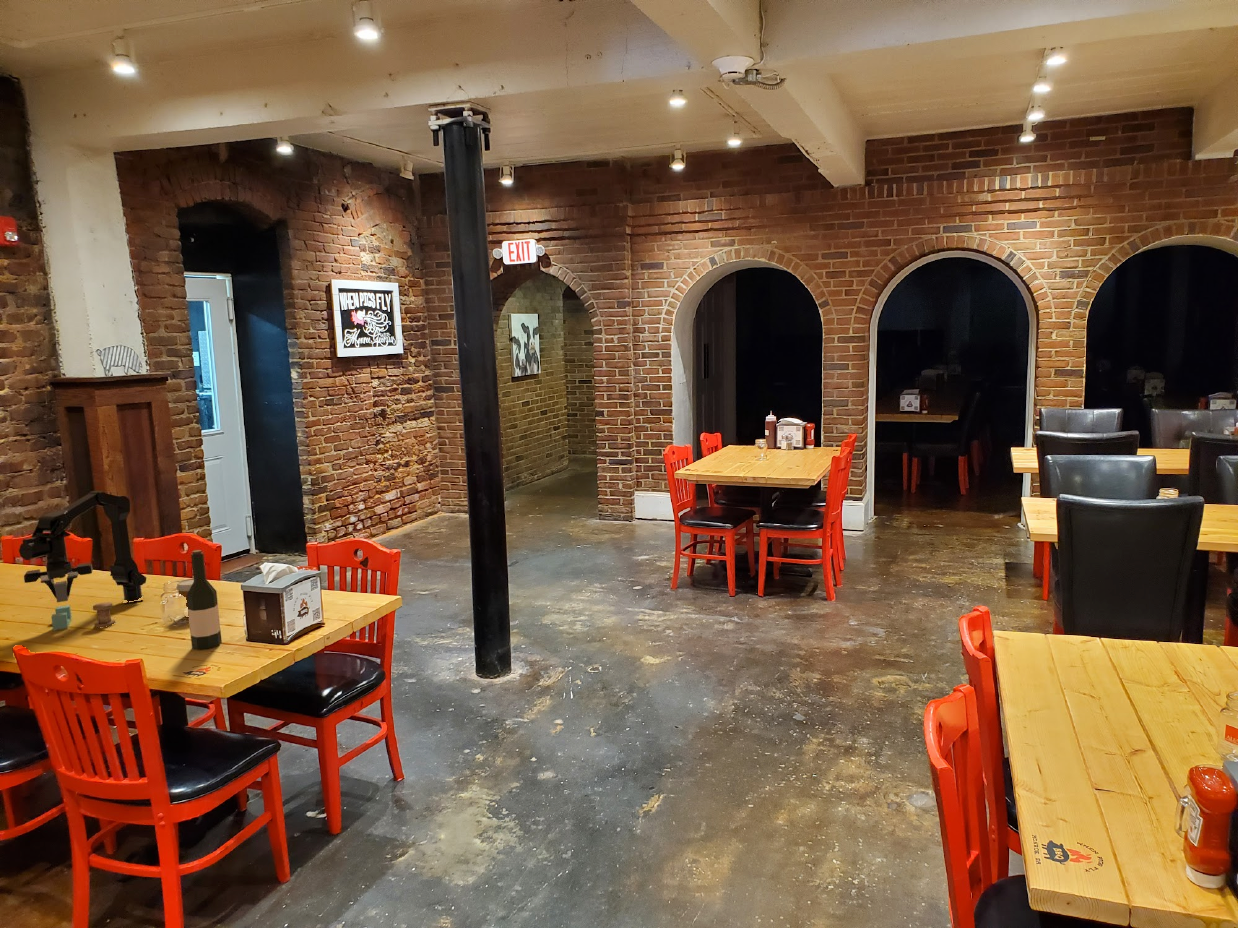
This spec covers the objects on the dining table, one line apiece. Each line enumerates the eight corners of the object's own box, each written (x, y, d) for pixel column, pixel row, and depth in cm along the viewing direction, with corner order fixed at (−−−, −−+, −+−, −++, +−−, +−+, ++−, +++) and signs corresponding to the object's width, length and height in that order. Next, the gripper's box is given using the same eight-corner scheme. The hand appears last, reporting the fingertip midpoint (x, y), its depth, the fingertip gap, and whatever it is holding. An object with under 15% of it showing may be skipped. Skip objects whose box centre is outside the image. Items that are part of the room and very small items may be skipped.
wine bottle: (209, 650, 252) (199, 554, 248) (185, 649, 254) (175, 554, 250) (227, 641, 260) (218, 547, 256) (204, 639, 262) (194, 547, 258)
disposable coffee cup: (215, 613, 289) (212, 579, 287) (188, 621, 281) (185, 586, 279) (200, 608, 294) (197, 576, 292) (174, 616, 286) (170, 583, 284)
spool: (95, 624, 281) (93, 604, 280) (116, 620, 284) (113, 601, 283) (93, 629, 276) (91, 608, 275) (114, 625, 278) (112, 605, 277)
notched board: (58, 620, 286) (56, 606, 285) (71, 618, 288) (70, 604, 287) (53, 630, 276) (51, 616, 275) (67, 628, 277) (65, 614, 277)
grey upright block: (58, 599, 281) (55, 582, 280) (68, 597, 282) (66, 580, 281) (57, 602, 277) (54, 585, 276) (67, 600, 278) (65, 583, 278)
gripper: (18, 561, 266) (25, 608, 268) (87, 552, 274) (93, 598, 277) (23, 554, 275) (30, 599, 278) (89, 546, 284) (95, 590, 286)
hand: (62, 597), depth 279 cm, fingers closed on grey upright block, 3 cm apart
